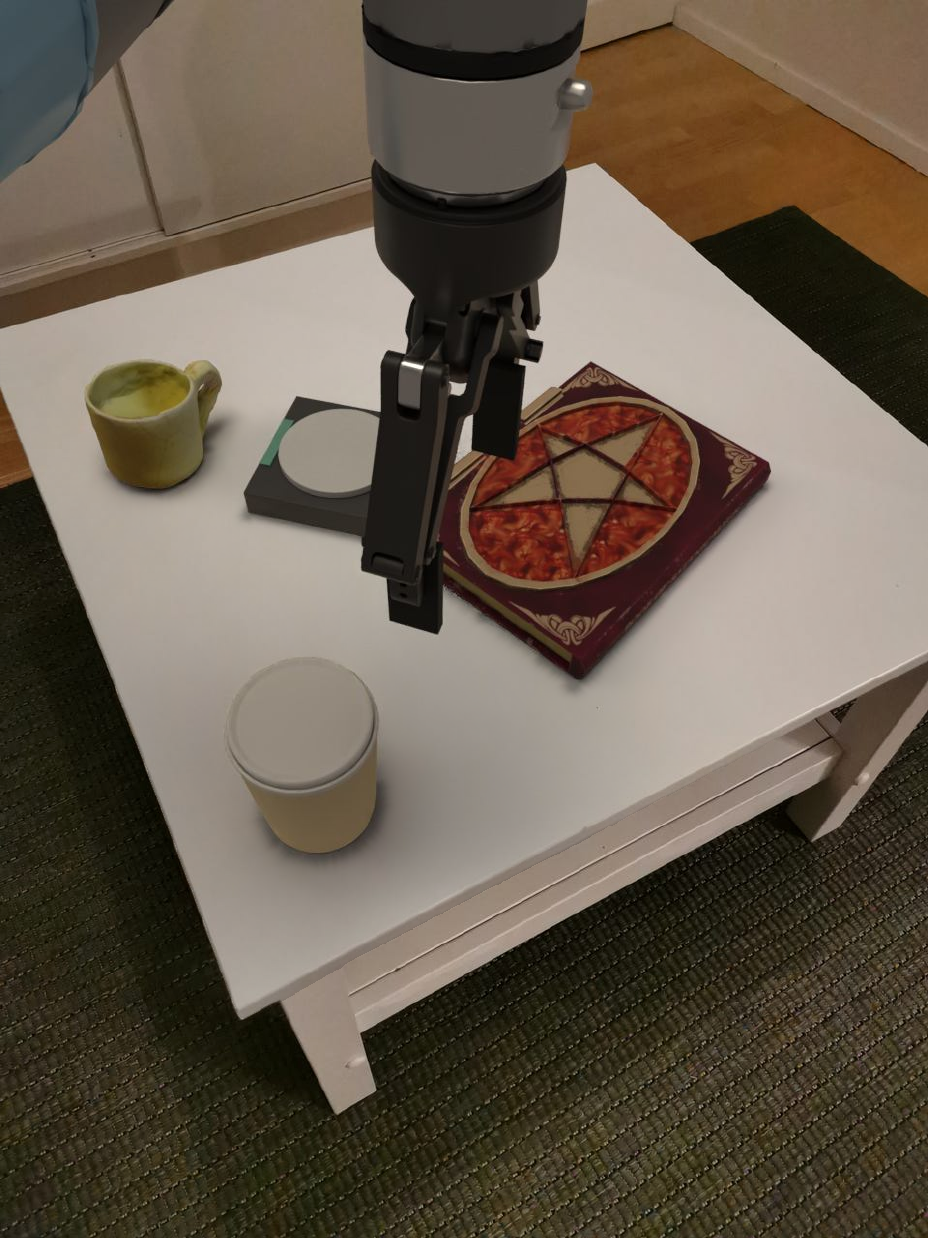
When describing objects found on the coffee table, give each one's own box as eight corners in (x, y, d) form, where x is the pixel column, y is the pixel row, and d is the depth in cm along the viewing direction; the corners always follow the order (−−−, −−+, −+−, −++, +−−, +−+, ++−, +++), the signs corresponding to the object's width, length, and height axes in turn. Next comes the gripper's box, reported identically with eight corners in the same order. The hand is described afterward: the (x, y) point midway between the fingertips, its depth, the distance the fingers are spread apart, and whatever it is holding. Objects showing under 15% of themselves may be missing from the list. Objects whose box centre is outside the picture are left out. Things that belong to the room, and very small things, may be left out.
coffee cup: (412, 781, 66) (407, 694, 56) (337, 891, 61) (317, 816, 51) (307, 722, 68) (284, 629, 59) (226, 823, 64) (188, 740, 54)
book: (580, 686, 71) (589, 651, 67) (383, 544, 79) (382, 505, 75) (763, 489, 84) (780, 450, 80) (579, 383, 92) (587, 343, 88)
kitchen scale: (248, 512, 81) (241, 485, 78) (299, 415, 88) (295, 388, 86) (389, 541, 79) (387, 515, 76) (429, 440, 87) (429, 414, 84)
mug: (121, 511, 78) (96, 397, 73) (88, 471, 85) (63, 364, 80) (255, 479, 84) (242, 371, 78) (214, 444, 91) (199, 343, 86)
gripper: (455, 382, 27) (447, 733, 44) (637, 39, 41) (577, 406, 58) (226, 326, 28) (304, 688, 45) (478, 12, 42) (465, 379, 59)
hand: (458, 531), depth 52 cm, fingers open, 13 cm apart
